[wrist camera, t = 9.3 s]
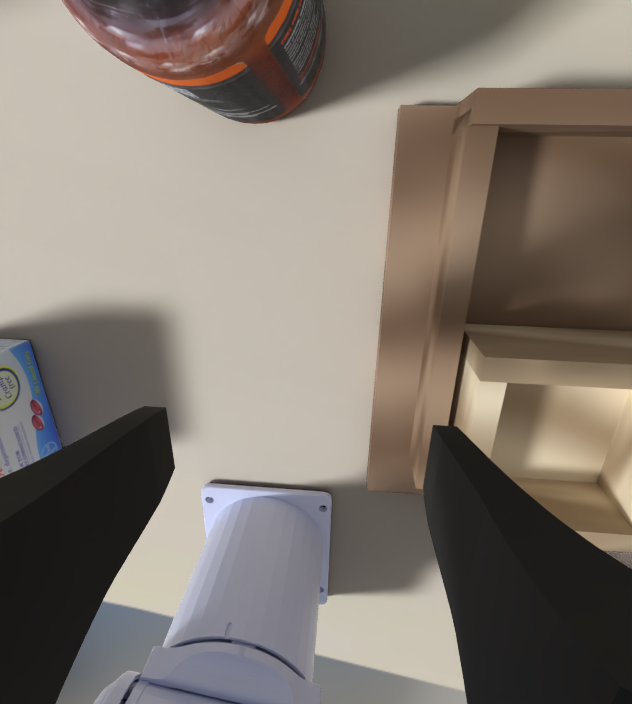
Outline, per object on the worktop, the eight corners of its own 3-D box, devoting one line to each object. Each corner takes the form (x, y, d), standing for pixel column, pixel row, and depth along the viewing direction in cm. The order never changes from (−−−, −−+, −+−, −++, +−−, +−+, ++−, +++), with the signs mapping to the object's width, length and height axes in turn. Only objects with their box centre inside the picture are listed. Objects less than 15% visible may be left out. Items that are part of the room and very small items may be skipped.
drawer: (588, 535, 23) (692, 688, 16) (425, 522, 23) (457, 664, 16) (663, 332, 18) (857, 423, 11) (458, 323, 19) (521, 404, 12)
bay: (650, 498, 23) (707, 559, 19) (366, 478, 24) (369, 531, 20) (816, 113, 16) (960, 90, 12) (398, 109, 17) (411, 87, 13)
